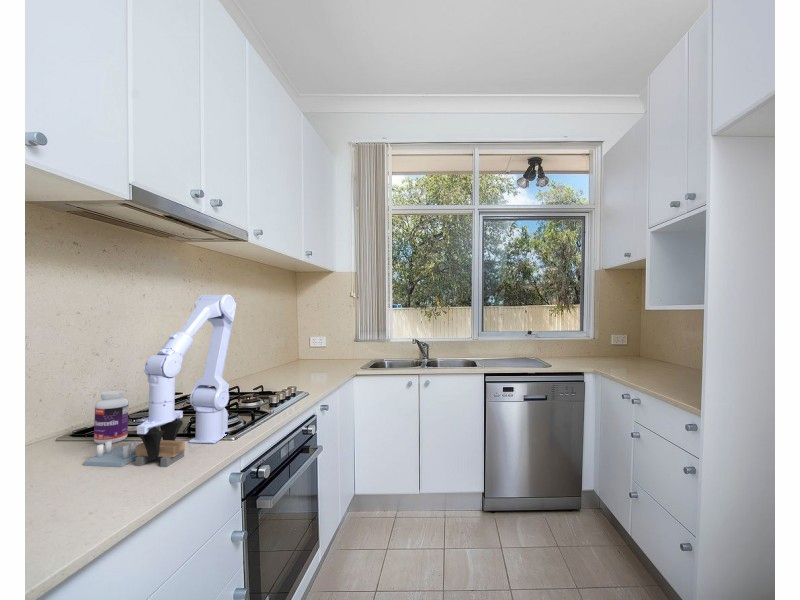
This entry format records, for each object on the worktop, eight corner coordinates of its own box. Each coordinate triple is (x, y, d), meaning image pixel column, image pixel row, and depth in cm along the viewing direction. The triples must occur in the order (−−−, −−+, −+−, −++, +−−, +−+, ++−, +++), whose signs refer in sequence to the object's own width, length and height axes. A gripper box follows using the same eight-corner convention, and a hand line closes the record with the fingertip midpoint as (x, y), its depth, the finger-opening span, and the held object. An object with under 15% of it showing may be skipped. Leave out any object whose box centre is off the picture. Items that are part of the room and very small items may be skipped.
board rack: (155, 455, 103) (155, 447, 103) (184, 456, 103) (184, 448, 103) (135, 465, 96) (135, 457, 96) (166, 466, 96) (166, 458, 96)
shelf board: (148, 449, 102) (149, 439, 102) (184, 450, 101) (184, 440, 101) (136, 455, 98) (136, 445, 98) (173, 457, 97) (173, 447, 97)
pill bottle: (87, 446, 110) (88, 395, 110) (103, 437, 117) (104, 389, 118) (119, 444, 111) (120, 394, 111) (132, 435, 119) (133, 388, 119)
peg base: (113, 452, 105) (113, 437, 105) (147, 453, 104) (148, 438, 105) (83, 465, 96) (84, 449, 96) (121, 466, 96) (121, 450, 96)
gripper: (166, 394, 107) (165, 443, 107) (125, 407, 93) (124, 463, 93) (190, 394, 107) (189, 443, 107) (153, 408, 92) (152, 465, 92)
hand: (160, 453), depth 100 cm, fingers open, 5 cm apart
